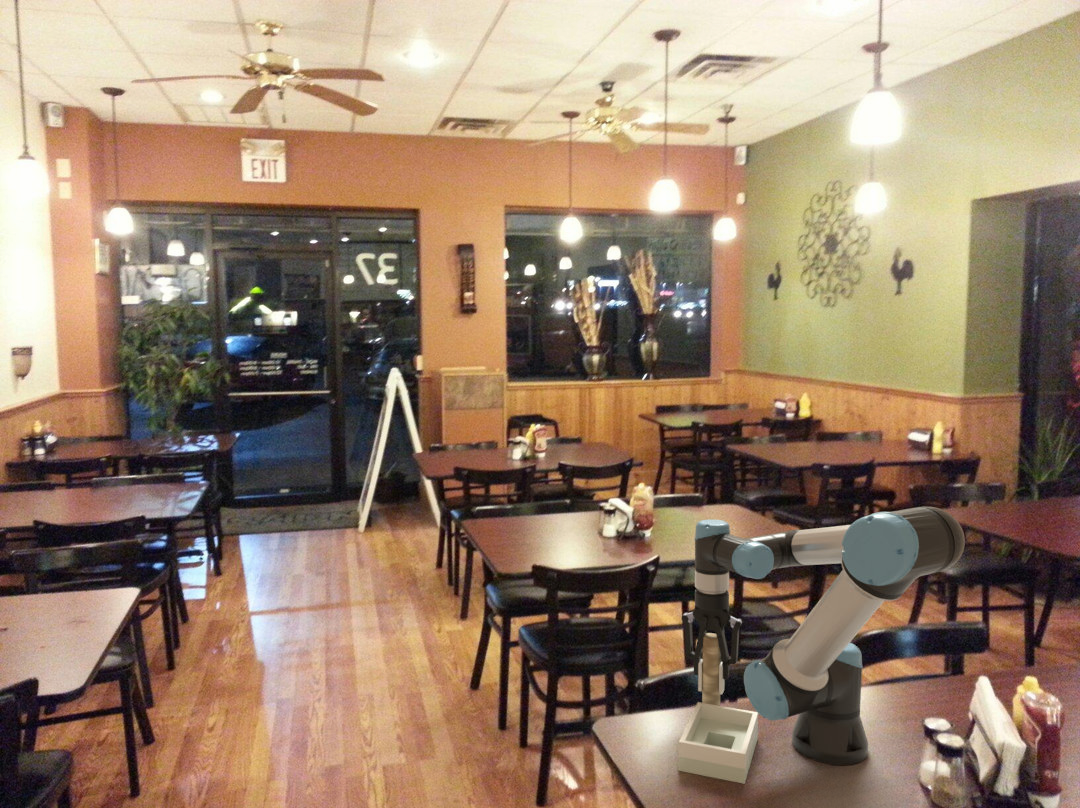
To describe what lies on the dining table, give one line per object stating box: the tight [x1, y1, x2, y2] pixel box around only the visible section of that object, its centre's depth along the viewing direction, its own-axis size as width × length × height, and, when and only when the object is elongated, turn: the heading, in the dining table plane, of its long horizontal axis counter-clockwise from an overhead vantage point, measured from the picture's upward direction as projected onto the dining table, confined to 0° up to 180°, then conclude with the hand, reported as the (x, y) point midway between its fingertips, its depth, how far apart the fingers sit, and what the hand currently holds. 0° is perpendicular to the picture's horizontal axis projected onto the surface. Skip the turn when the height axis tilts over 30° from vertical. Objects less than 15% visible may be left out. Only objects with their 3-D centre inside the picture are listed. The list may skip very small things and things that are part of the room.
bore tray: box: [678, 701, 759, 785], centre depth 171 cm, size 13×19×6 cm
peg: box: [701, 632, 722, 706], centre depth 187 cm, size 4×4×16 cm
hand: (711, 690), depth 187 cm, fingers closed on peg, 4 cm apart
